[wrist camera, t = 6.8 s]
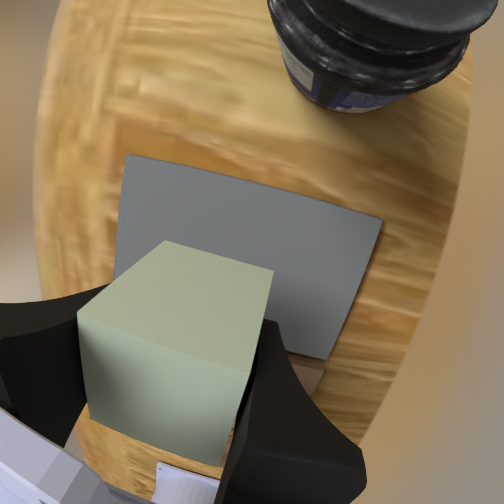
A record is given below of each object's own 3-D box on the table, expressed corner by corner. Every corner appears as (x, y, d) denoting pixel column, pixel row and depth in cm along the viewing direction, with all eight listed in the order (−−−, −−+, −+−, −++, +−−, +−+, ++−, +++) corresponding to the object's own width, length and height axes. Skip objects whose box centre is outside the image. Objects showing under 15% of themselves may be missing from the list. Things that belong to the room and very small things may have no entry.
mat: (326, 355, 19) (326, 360, 19) (116, 292, 20) (113, 296, 19) (380, 218, 16) (382, 220, 15) (130, 154, 17) (126, 154, 16)
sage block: (247, 358, 14) (217, 467, 9) (154, 329, 14) (90, 418, 9) (273, 270, 13) (250, 373, 7) (165, 240, 13) (76, 311, 7)
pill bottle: (414, 38, 12) (529, -55, 2) (379, 135, 15) (506, 133, 4) (304, -8, 12) (298, -155, 2) (265, 88, 15) (197, 0, 4)
